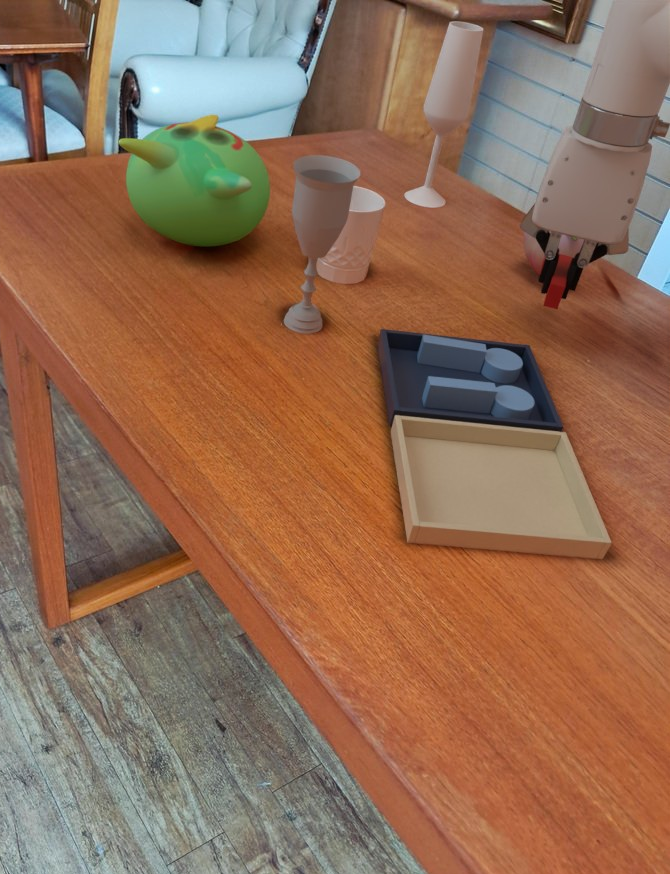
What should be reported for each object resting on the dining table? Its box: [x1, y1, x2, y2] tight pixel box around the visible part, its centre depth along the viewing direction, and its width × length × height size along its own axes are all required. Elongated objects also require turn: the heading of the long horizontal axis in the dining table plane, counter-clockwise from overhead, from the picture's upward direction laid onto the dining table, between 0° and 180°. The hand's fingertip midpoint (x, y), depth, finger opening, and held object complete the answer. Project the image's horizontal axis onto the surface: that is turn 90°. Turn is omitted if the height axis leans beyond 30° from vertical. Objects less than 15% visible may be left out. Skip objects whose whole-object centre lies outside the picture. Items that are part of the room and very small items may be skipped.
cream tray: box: [390, 415, 613, 560], centre depth 72 cm, size 17×15×2 cm
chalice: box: [280, 154, 361, 334], centre depth 85 cm, size 7×7×18 cm
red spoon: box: [540, 254, 572, 310], centre depth 93 cm, size 11×4×3 cm, turn 160°
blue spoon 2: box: [422, 376, 535, 420], centre depth 81 cm, size 11×4×3 cm, turn 90°
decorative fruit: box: [522, 231, 584, 276], centre depth 105 cm, size 9×8×10 cm
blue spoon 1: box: [417, 335, 523, 384], centre depth 87 cm, size 11×4×3 cm, turn 85°
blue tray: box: [376, 328, 564, 432], centre depth 84 cm, size 17×15×2 cm
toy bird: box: [117, 114, 271, 248], centre depth 99 cm, size 18×17×15 cm
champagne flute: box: [403, 20, 484, 209], centre depth 116 cm, size 7×7×24 cm
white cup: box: [316, 185, 387, 285], centre depth 98 cm, size 8×8×10 cm
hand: (554, 290), depth 92 cm, fingers closed on red spoon, 1 cm apart
